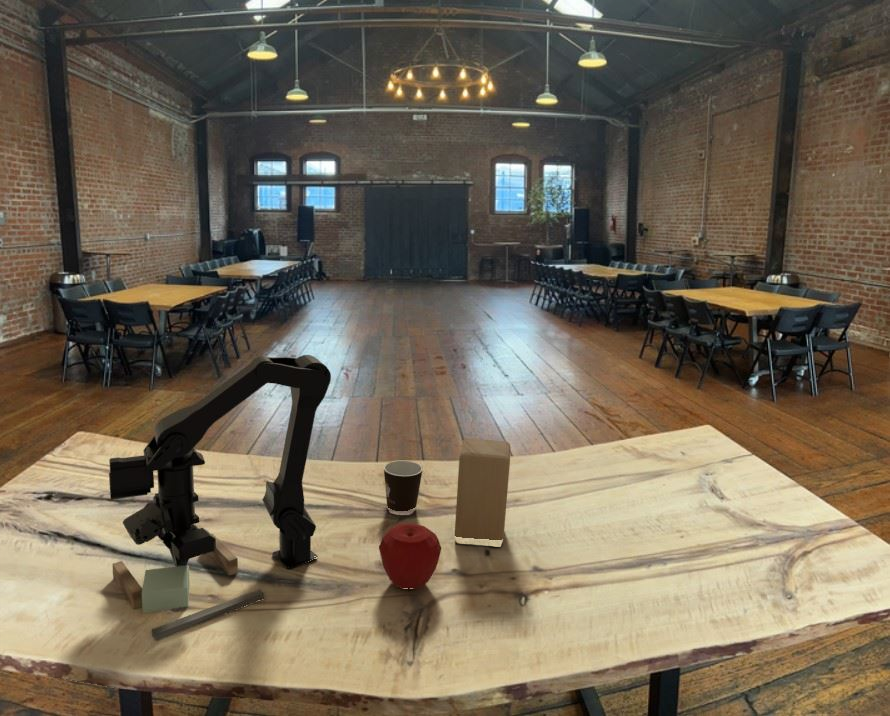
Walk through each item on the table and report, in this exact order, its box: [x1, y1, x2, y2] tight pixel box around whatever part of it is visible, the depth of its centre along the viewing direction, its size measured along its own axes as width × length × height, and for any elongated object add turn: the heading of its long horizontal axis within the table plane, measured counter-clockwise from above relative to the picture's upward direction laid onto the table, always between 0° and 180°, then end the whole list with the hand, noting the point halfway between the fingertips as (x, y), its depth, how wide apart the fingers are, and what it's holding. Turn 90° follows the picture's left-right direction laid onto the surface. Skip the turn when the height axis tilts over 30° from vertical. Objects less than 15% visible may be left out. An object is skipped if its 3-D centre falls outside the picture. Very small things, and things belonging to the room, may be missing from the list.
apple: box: [378, 522, 442, 589], centre depth 122 cm, size 11×11×12 cm
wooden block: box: [454, 437, 511, 540], centre depth 140 cm, size 10×10×20 cm
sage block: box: [141, 564, 191, 613], centre depth 115 cm, size 7×7×4 cm
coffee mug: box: [383, 459, 423, 511], centre depth 152 cm, size 12×9×10 cm
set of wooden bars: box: [111, 533, 265, 642], centre depth 118 cm, size 21×18×3 cm
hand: (180, 569), depth 120 cm, fingers closed
